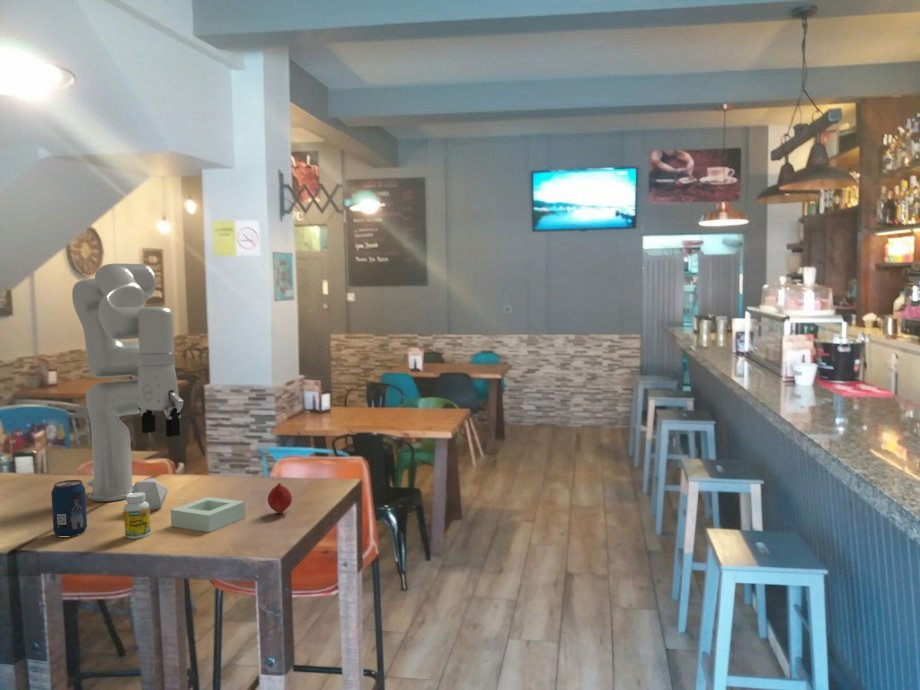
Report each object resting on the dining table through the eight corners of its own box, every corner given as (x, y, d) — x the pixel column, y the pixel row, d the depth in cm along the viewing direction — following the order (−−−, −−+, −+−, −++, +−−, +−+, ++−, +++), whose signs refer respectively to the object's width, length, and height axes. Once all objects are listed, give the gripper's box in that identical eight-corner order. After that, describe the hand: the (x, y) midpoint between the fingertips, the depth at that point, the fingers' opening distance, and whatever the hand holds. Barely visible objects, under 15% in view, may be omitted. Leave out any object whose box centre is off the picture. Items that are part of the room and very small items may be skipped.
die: (168, 514, 186) (176, 479, 191) (138, 504, 180) (147, 468, 185) (150, 521, 190) (158, 486, 195) (119, 511, 184) (129, 476, 190)
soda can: (64, 528, 173) (61, 479, 172) (93, 528, 173) (90, 479, 172) (47, 538, 166) (44, 487, 166) (77, 538, 166) (74, 486, 165)
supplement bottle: (148, 530, 171) (146, 490, 171) (152, 536, 167) (150, 495, 166) (123, 534, 168) (121, 493, 168) (127, 541, 164) (125, 499, 163)
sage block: (171, 526, 174) (170, 509, 174) (208, 512, 185) (207, 496, 185) (209, 532, 169) (209, 515, 169) (245, 517, 180) (244, 501, 180)
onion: (263, 513, 183) (262, 482, 182) (283, 508, 187) (282, 478, 186) (276, 518, 179) (275, 486, 178) (296, 513, 183) (295, 481, 182)
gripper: (121, 361, 170) (125, 433, 171) (164, 363, 160) (167, 440, 161) (151, 358, 176) (154, 428, 178) (194, 360, 166) (197, 434, 167)
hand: (160, 434), depth 169 cm, fingers open, 9 cm apart
